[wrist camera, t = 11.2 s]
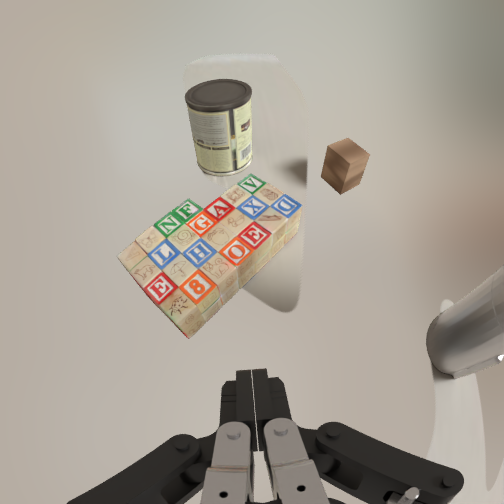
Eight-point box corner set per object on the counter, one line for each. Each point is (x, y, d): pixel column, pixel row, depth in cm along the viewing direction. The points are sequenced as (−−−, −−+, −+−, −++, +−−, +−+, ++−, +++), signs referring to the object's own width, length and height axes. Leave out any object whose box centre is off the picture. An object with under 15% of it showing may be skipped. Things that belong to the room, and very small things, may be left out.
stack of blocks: (298, 233, 41) (238, 191, 46) (304, 205, 36) (236, 162, 40) (188, 340, 33) (132, 278, 37) (174, 325, 28) (114, 255, 32)
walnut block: (359, 184, 47) (369, 154, 41) (340, 194, 45) (350, 163, 39) (340, 167, 49) (348, 137, 43) (320, 176, 47) (327, 145, 42)
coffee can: (203, 141, 53) (194, 79, 41) (254, 142, 53) (254, 78, 40) (190, 176, 48) (176, 107, 36) (249, 178, 47) (248, 106, 35)
